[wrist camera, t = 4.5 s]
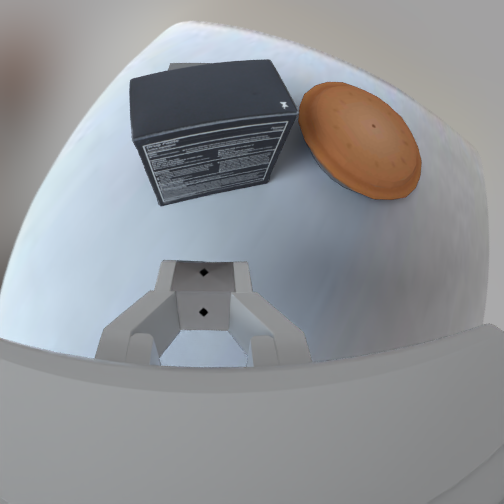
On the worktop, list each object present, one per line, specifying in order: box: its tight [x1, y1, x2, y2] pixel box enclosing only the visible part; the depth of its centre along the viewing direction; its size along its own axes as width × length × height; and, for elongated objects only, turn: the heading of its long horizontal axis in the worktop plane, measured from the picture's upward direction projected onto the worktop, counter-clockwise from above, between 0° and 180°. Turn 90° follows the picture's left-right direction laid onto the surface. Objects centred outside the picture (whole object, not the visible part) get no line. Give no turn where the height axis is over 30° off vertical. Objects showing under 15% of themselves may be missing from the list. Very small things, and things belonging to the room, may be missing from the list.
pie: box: [298, 82, 421, 200], centre depth 26 cm, size 16×16×5 cm
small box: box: [129, 60, 299, 206], centre depth 20 cm, size 11×6×10 cm, turn 106°
